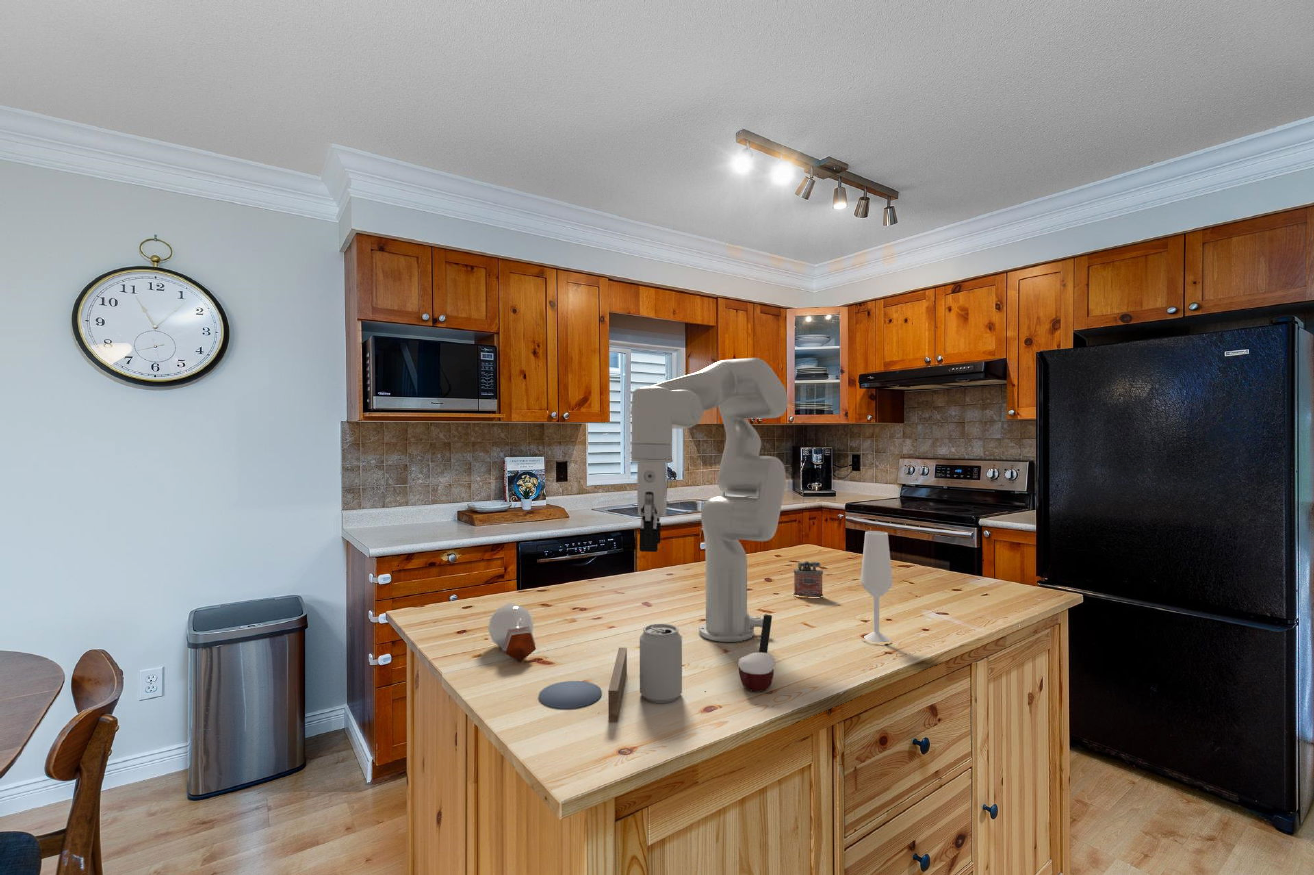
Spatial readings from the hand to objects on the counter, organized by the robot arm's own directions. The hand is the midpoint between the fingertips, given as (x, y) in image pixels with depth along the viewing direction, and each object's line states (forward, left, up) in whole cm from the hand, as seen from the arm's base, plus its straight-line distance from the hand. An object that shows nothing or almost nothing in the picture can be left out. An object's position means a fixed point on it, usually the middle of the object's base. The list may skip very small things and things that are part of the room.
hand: (650, 547), depth 114 cm
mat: (+14, +5, -25) cm, 29 cm away
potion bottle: (+29, -17, -26) cm, 43 cm away
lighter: (-43, -62, -26) cm, 79 cm away
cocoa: (-20, +1, -26) cm, 32 cm away
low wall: (+5, +5, -25) cm, 26 cm away
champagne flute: (-50, -25, -26) cm, 61 cm away
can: (-2, +5, -26) cm, 26 cm away
